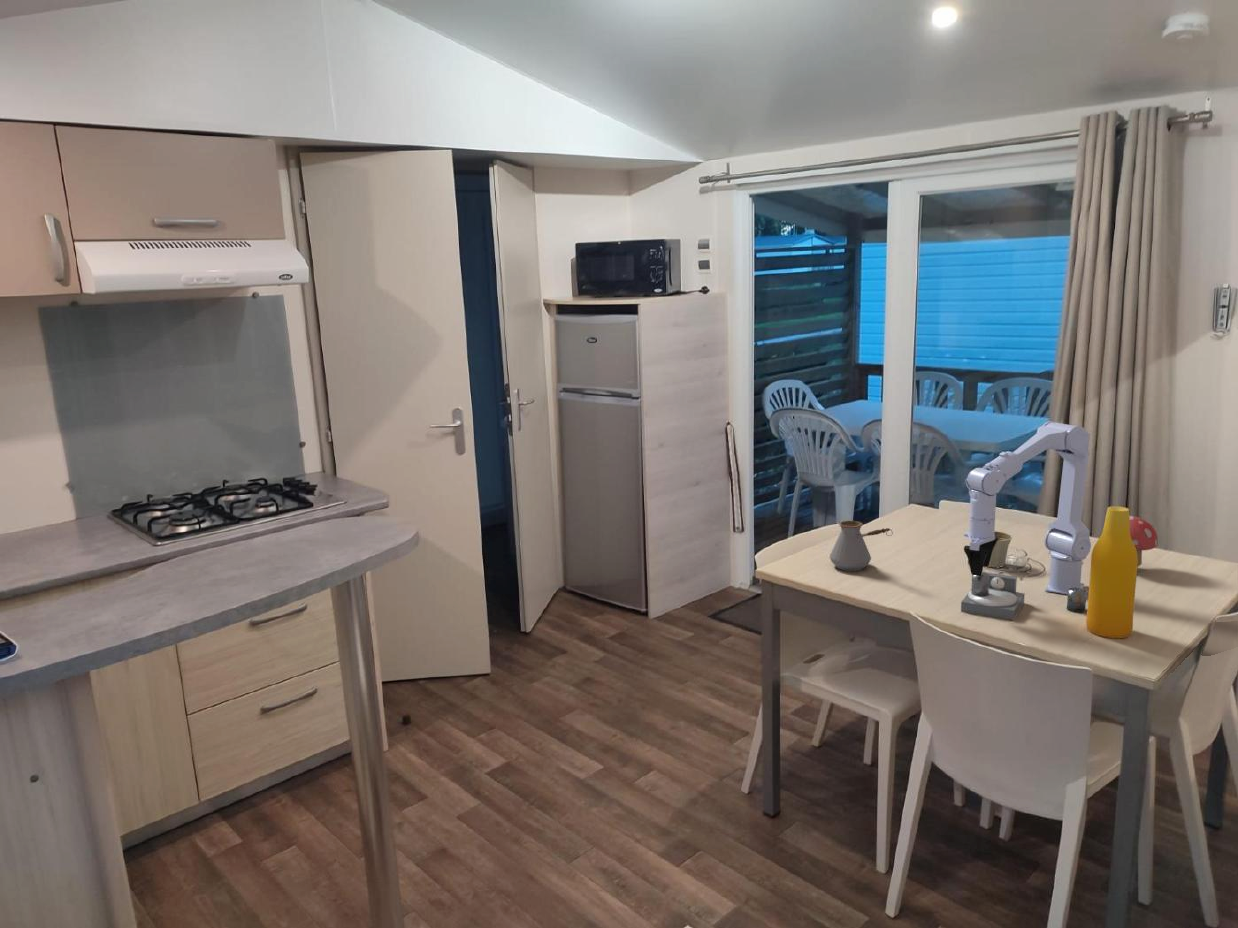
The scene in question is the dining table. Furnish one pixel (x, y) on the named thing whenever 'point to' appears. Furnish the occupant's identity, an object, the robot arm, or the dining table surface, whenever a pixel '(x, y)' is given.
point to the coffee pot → (852, 547)
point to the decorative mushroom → (1142, 536)
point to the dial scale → (996, 599)
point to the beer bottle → (1113, 578)
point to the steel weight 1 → (980, 585)
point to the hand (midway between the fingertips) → (979, 570)
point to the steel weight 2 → (1076, 600)
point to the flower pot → (1000, 549)
